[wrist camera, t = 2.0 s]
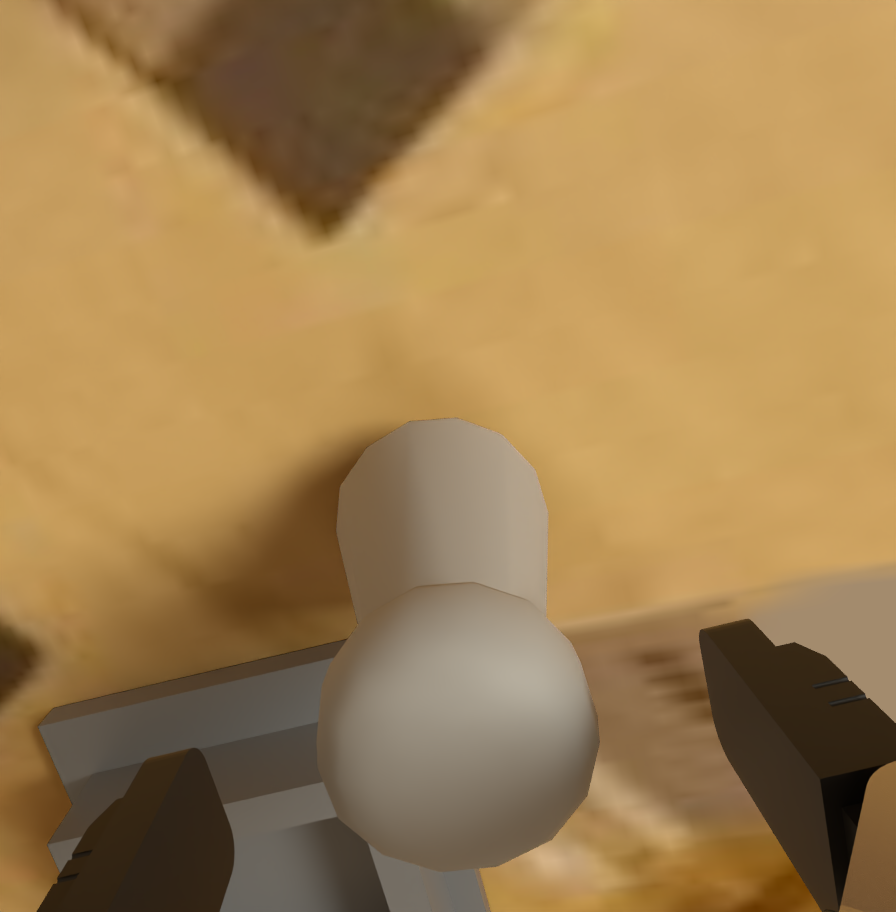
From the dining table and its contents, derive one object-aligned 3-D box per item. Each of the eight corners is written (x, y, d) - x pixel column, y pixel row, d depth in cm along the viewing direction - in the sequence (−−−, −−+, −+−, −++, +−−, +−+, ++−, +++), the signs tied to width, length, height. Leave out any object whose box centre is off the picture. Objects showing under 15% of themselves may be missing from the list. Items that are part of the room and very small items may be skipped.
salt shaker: (356, 589, 24) (276, 964, 11) (333, 411, 22) (213, 612, 10) (540, 572, 24) (668, 928, 11) (530, 394, 22) (665, 571, 10)
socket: (53, 708, 24) (-17, 792, 21) (409, 625, 24) (406, 695, 20) (191, 1027, 28) (153, 1150, 24) (504, 959, 28) (516, 1073, 24)
